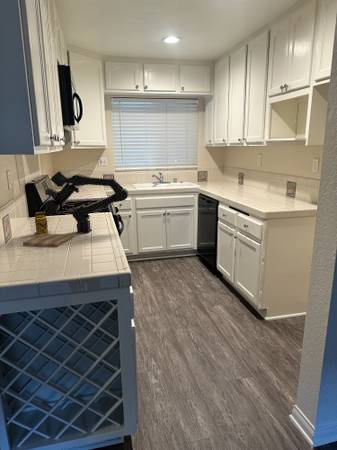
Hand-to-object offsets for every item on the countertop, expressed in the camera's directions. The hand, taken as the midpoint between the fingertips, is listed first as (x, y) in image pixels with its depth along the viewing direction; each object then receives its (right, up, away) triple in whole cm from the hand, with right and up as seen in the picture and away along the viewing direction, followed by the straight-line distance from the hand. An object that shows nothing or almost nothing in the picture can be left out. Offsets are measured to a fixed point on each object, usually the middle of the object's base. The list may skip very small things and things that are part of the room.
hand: (47, 213), depth 169 cm
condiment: (-4, -11, +2) cm, 12 cm away
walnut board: (+6, -14, -12) cm, 20 cm away
